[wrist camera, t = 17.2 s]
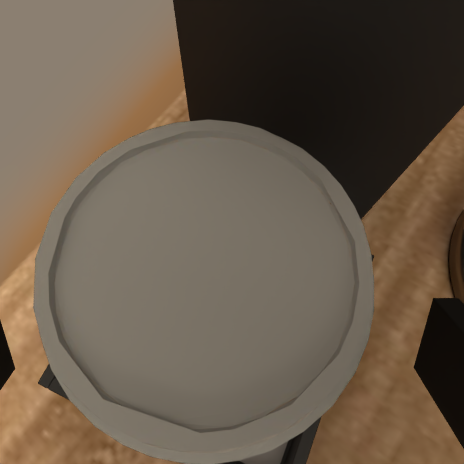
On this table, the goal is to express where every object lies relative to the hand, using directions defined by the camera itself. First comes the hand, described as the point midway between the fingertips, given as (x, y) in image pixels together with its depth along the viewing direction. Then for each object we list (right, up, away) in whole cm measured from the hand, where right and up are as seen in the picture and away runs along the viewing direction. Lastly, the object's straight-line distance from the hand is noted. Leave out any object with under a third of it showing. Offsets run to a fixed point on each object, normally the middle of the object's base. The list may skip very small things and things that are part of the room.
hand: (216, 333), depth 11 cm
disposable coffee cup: (0, -2, +9) cm, 10 cm away
